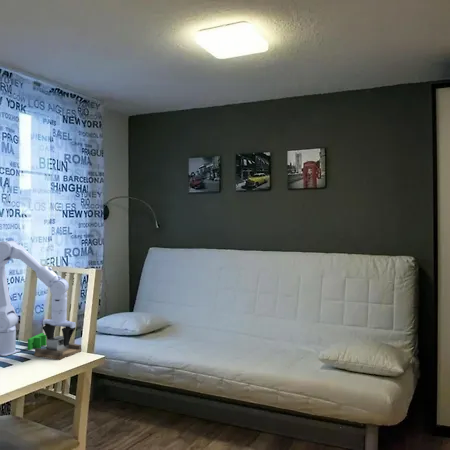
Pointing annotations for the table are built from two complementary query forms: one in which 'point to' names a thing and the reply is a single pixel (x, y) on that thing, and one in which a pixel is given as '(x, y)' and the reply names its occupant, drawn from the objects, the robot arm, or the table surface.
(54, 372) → the table surface
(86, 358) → the table surface
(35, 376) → the table surface
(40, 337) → the pipe clamp
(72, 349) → the board
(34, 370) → the table surface
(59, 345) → the block
